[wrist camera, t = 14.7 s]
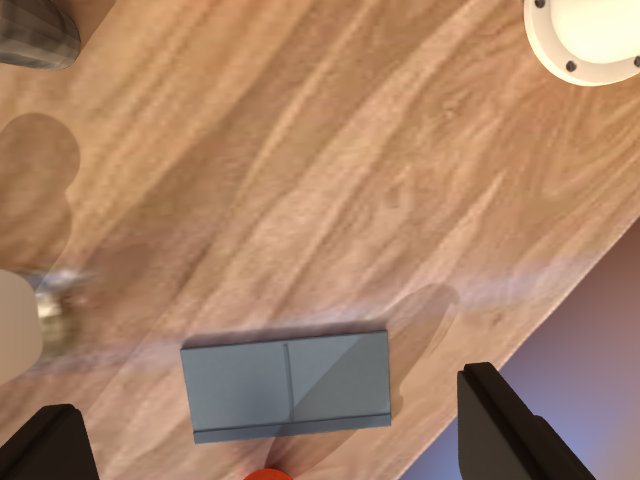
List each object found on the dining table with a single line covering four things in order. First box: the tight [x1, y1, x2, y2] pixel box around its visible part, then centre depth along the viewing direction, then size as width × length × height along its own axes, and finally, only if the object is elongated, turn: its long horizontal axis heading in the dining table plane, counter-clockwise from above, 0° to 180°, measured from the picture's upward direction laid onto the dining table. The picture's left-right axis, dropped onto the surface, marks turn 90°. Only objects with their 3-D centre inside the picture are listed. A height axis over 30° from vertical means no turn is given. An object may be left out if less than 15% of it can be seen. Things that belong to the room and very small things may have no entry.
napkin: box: [180, 330, 391, 444], centre depth 38 cm, size 19×10×1 cm, turn 94°
